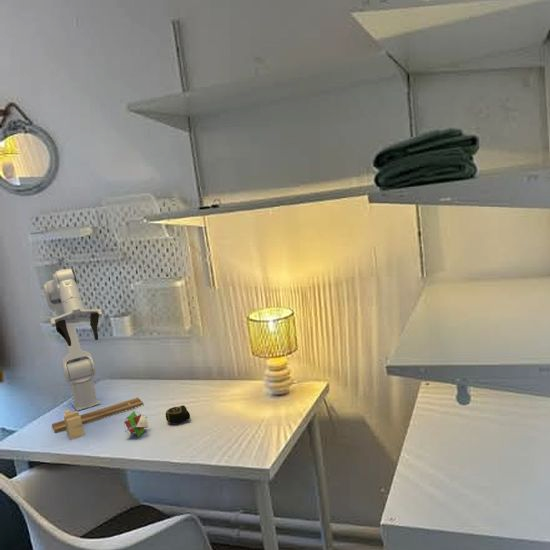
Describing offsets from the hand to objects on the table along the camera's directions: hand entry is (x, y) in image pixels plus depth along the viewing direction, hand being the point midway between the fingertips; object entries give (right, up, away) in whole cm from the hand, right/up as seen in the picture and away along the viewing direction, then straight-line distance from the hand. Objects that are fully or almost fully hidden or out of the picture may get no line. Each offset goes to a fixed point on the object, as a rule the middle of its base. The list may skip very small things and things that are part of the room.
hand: (83, 341), depth 175 cm
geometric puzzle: (+16, -27, +1) cm, 32 cm away
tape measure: (+27, -25, +7) cm, 37 cm away
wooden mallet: (-6, -28, +10) cm, 31 cm away
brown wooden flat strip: (-1, -26, +19) cm, 32 cm away
